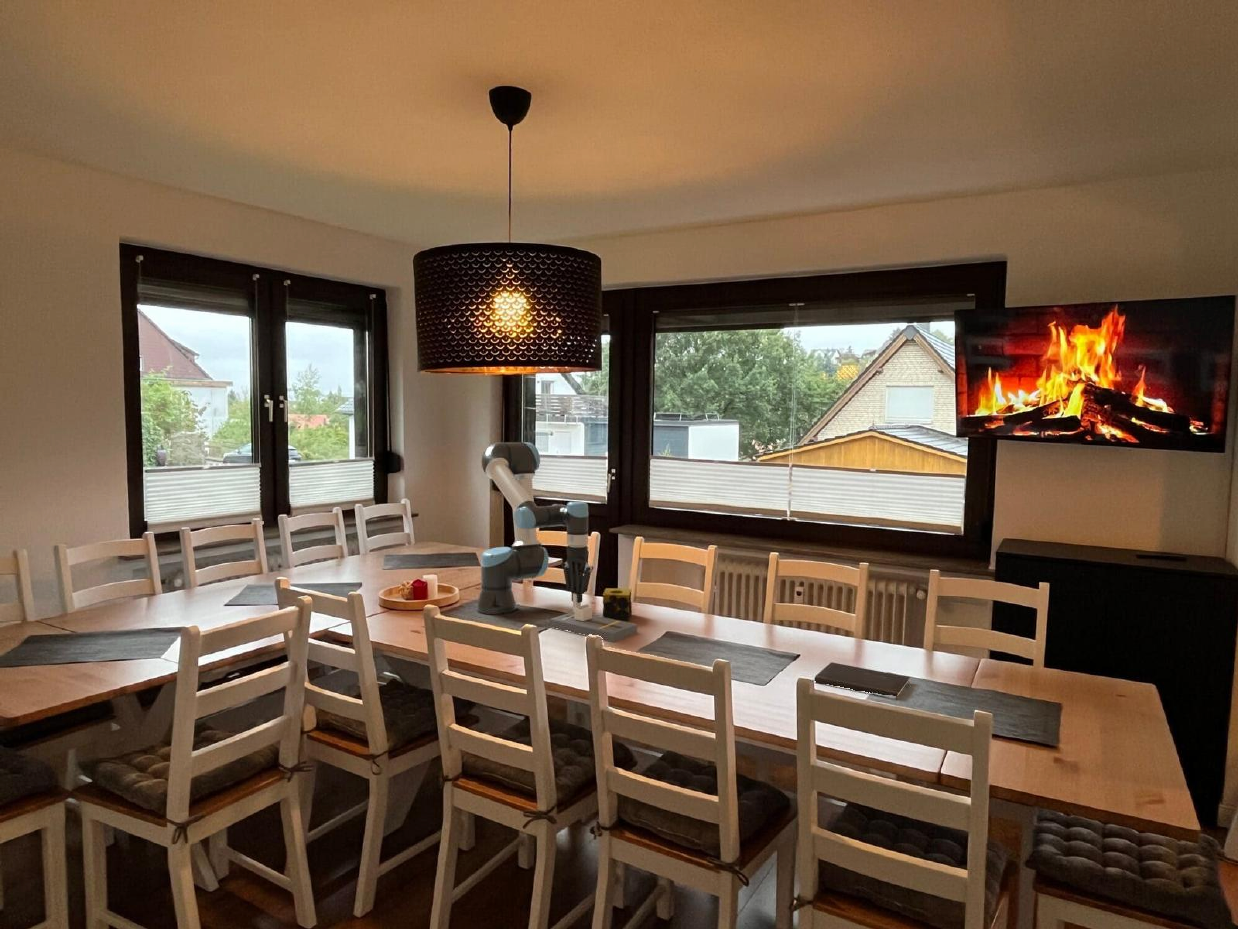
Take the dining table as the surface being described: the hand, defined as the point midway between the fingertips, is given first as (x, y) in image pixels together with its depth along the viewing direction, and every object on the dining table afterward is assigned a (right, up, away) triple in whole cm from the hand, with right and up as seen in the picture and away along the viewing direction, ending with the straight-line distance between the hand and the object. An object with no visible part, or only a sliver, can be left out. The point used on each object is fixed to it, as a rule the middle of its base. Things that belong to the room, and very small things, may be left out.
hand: (576, 611), depth 275 cm
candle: (+14, -5, +14) cm, 21 cm away
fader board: (+6, -6, -4) cm, 9 cm away
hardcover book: (+85, -12, -52) cm, 101 cm away
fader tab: (+2, -3, -1) cm, 4 cm away
